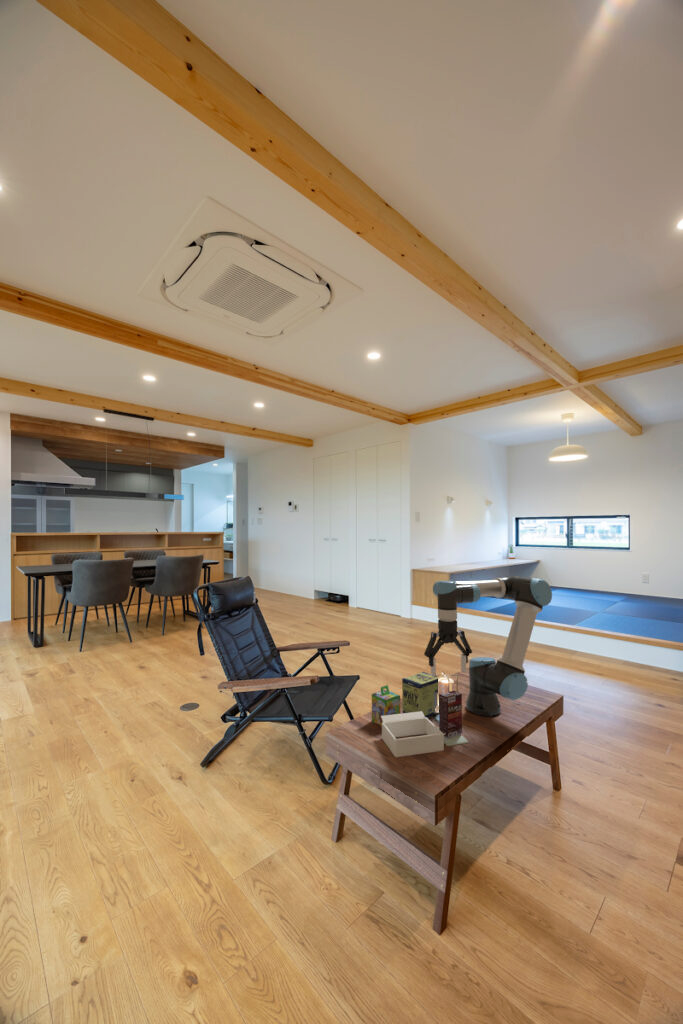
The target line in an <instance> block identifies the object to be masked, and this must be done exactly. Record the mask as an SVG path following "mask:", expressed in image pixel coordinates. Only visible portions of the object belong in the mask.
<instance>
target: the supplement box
mask: <svg viewBox="0 0 683 1024" xmlns="http://www.w3.org/2000/svg"><path fill="white" fill-rule="evenodd" d="M462 696H463V695H462V693H460V692H459V691H456V690H451V691H447V692H443V693H441V694H439V713H438V723H439V725H438V726H439V727H438V728H439V730H440V731H441V732H442V733H443V734H444V733H446V734H445V735H444V738H446V739H450V738H452V737H455V736H458V735H463V711H462V710H463V702H462V701H463V700H462V699H463V697H462Z"/></svg>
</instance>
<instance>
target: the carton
mask: <svg viewBox="0 0 683 1024" xmlns="http://www.w3.org/2000/svg"><path fill="white" fill-rule="evenodd" d="M381 718H382V721H383V723H382V726H381V740H382V741H383V742H384V744H385V745H386V746H387V747H388V749H389V750H390V752H391V753H392V755H393V756H394V758H400V757H407V756H415V755H421V754H429V753H436V752H442V751H445V747H444V746H445V745H444V744H445V743H444V735H445V734H446V733H444V734H443V733H442V732H441V731H440V730H439V729H438V728H439V727H437V726H436V724H434V723H433V722H432V721H431V720H430V719H429V718H427V717H425V716H424V714H423V712H422V711H420V712H411V713H403V712H402V713H400V714H394V715H385V716H381ZM417 735H418V736H417ZM407 736H410V737H407ZM400 737H401V738H400ZM402 737H403V738H402Z"/></svg>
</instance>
